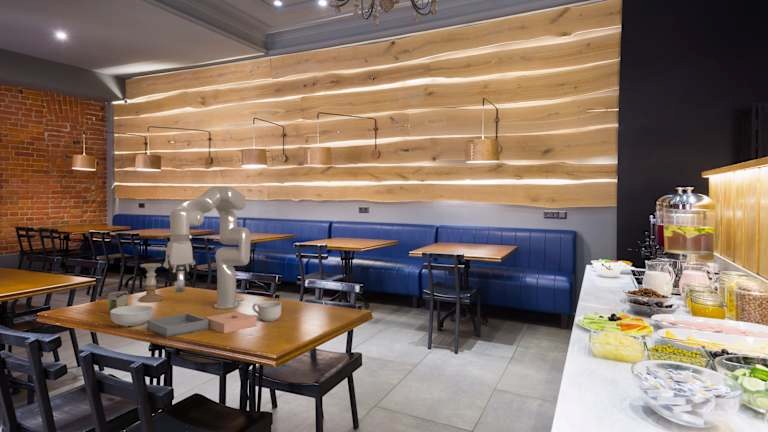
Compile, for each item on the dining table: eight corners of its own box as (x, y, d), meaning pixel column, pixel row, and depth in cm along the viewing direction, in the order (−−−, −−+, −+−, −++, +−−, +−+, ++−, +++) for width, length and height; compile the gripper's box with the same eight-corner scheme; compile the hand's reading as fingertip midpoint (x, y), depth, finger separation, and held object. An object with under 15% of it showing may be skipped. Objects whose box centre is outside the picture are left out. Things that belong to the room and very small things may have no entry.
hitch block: (236, 319, 212) (236, 311, 212) (256, 325, 202) (256, 317, 202) (204, 326, 200) (204, 317, 200) (224, 333, 190) (224, 323, 190)
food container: (115, 310, 226) (115, 290, 226) (128, 310, 227) (128, 290, 226) (102, 316, 214) (102, 295, 214) (115, 316, 214) (115, 295, 214)
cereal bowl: (122, 332, 189) (122, 315, 189) (102, 326, 198) (102, 310, 198) (161, 323, 204) (161, 308, 203) (140, 318, 212) (140, 303, 212)
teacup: (285, 318, 217) (285, 302, 216) (273, 323, 206) (273, 306, 206) (261, 315, 221) (261, 299, 221) (247, 320, 211) (247, 303, 211)
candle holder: (133, 301, 246) (133, 265, 246) (148, 297, 259) (148, 262, 258) (153, 303, 244) (153, 266, 244) (167, 298, 257) (168, 263, 256)
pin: (181, 290, 197) (181, 265, 197) (186, 291, 195) (186, 266, 194) (172, 291, 194) (172, 266, 194) (177, 292, 192) (177, 267, 191)
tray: (187, 321, 207) (187, 313, 207) (208, 328, 196) (208, 319, 196) (147, 329, 193) (147, 320, 193) (166, 337, 182) (167, 328, 182)
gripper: (193, 237, 203) (193, 277, 203) (156, 238, 190) (155, 282, 190) (202, 238, 198) (202, 279, 199) (164, 240, 185) (164, 284, 185)
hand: (179, 280), depth 194 cm, fingers closed on pin, 4 cm apart
